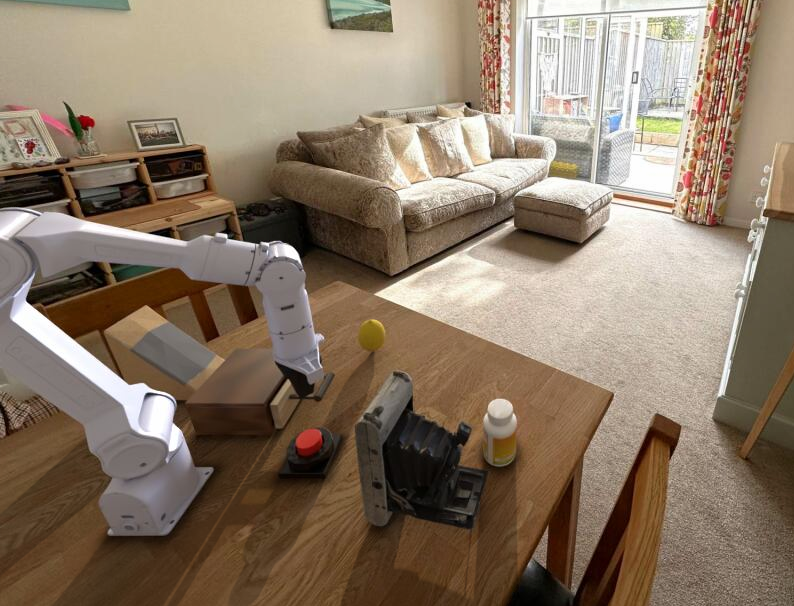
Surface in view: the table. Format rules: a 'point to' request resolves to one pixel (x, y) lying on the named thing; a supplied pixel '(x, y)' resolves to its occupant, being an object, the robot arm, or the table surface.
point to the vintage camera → (413, 462)
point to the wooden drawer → (292, 399)
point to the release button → (309, 442)
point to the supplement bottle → (499, 433)
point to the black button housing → (311, 458)
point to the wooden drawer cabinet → (237, 395)
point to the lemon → (371, 335)
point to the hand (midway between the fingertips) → (305, 393)
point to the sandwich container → (160, 354)
